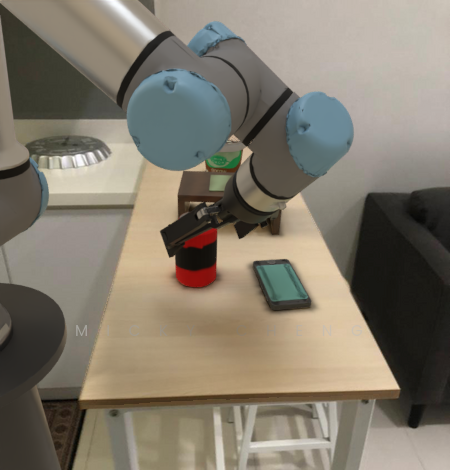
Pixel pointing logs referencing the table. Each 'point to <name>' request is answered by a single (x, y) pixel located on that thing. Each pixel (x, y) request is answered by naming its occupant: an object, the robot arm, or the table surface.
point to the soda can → (197, 260)
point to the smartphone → (281, 284)
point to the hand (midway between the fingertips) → (204, 240)
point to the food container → (226, 158)
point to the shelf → (208, 191)
